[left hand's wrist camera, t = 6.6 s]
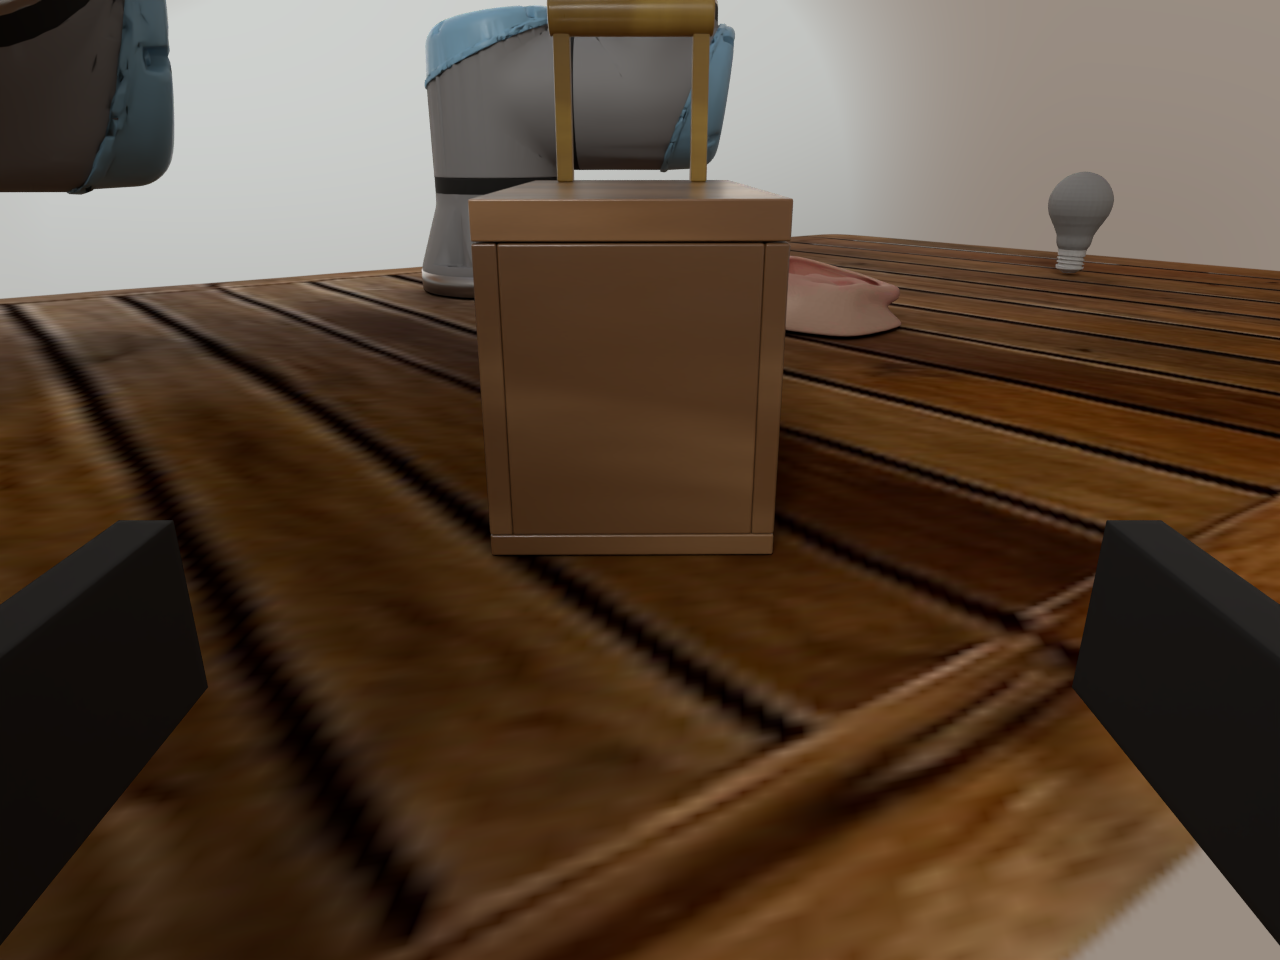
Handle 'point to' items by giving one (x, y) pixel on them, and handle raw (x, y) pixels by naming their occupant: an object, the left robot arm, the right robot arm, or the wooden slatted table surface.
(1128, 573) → the left robot arm
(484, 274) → the chest
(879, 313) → the anatomical model
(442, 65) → the right robot arm
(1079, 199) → the light bulb
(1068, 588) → the wooden slatted table surface
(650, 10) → the lid
